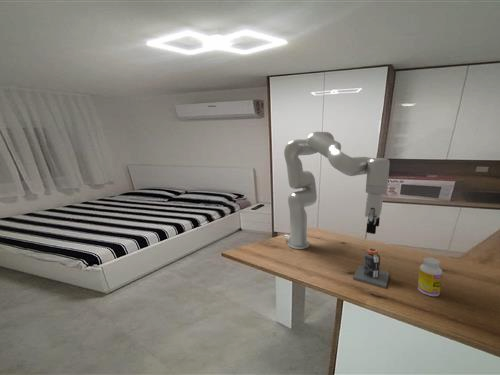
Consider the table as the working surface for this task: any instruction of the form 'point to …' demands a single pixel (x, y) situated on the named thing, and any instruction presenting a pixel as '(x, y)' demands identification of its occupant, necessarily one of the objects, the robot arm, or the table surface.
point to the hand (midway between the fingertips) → (372, 229)
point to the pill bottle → (371, 263)
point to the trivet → (377, 281)
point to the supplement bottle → (430, 277)
